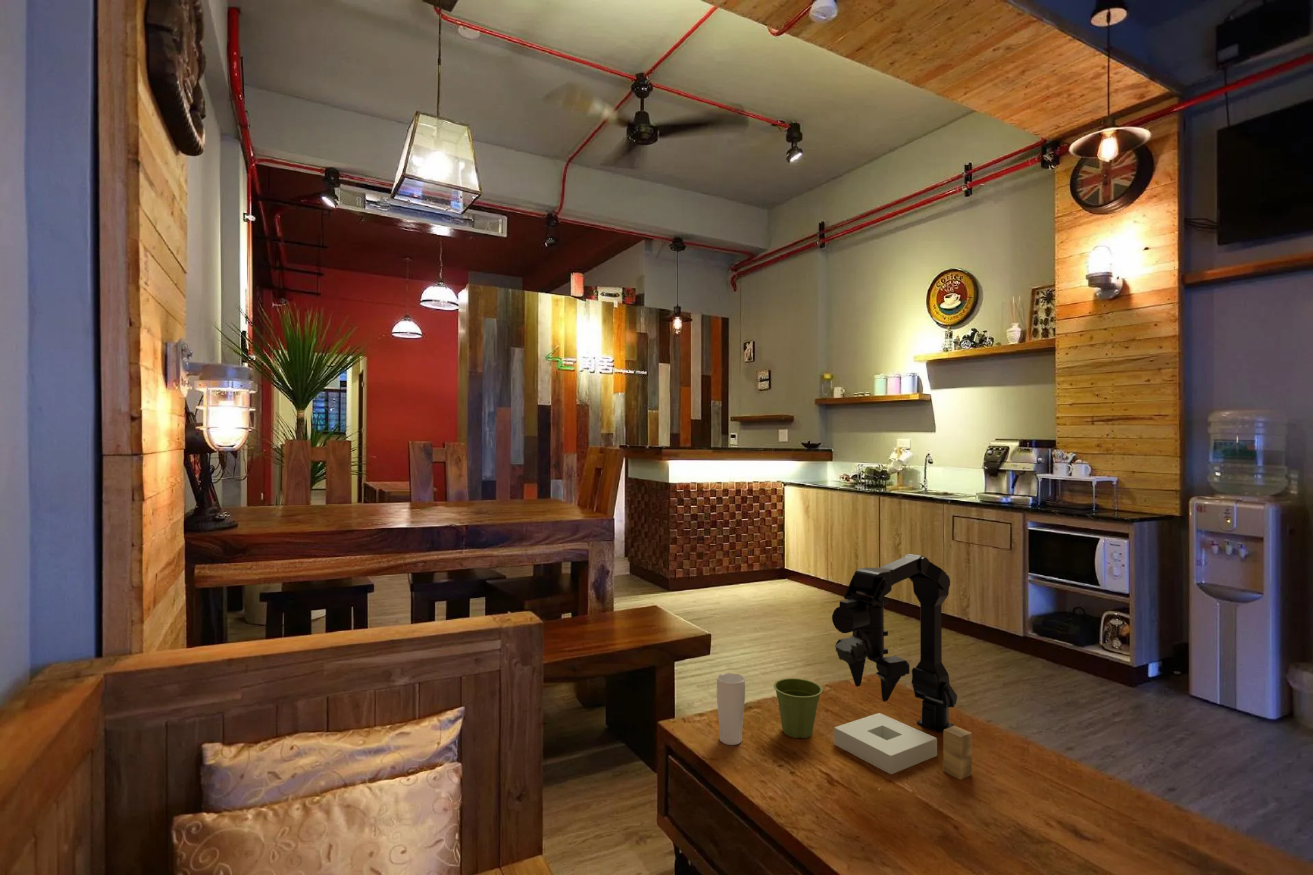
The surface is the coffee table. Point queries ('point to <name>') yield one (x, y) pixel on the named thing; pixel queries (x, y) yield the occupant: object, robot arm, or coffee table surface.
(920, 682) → the robot arm
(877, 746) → the socket block
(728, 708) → the drinking glass
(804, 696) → the plant pot
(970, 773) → the peg
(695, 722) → the coffee table surface
